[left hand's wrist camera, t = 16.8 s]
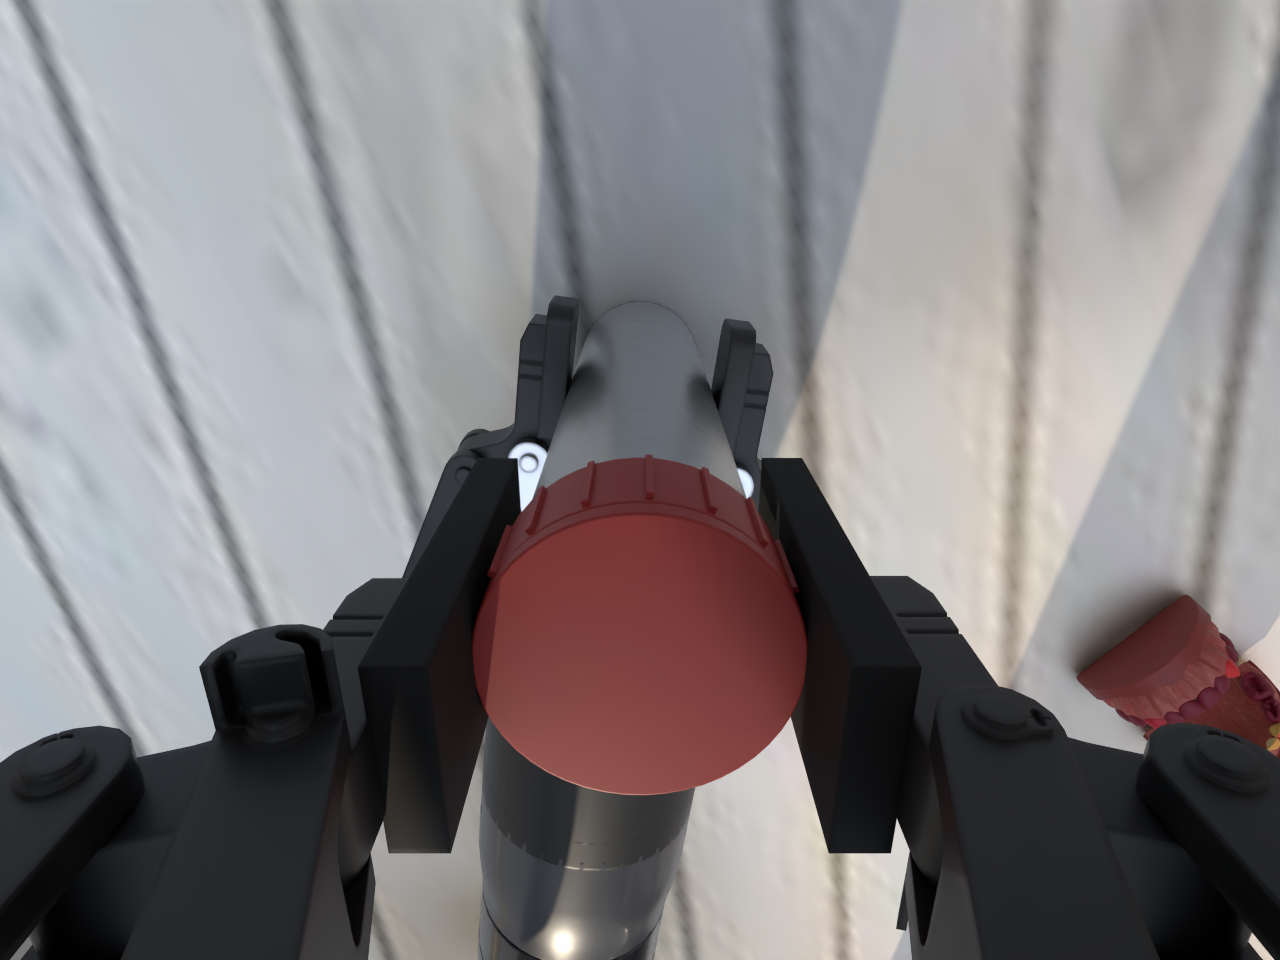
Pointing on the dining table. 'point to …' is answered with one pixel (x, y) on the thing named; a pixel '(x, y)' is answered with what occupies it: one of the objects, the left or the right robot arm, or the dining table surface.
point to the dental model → (1186, 678)
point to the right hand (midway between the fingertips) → (651, 315)
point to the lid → (639, 629)
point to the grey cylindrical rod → (639, 399)
